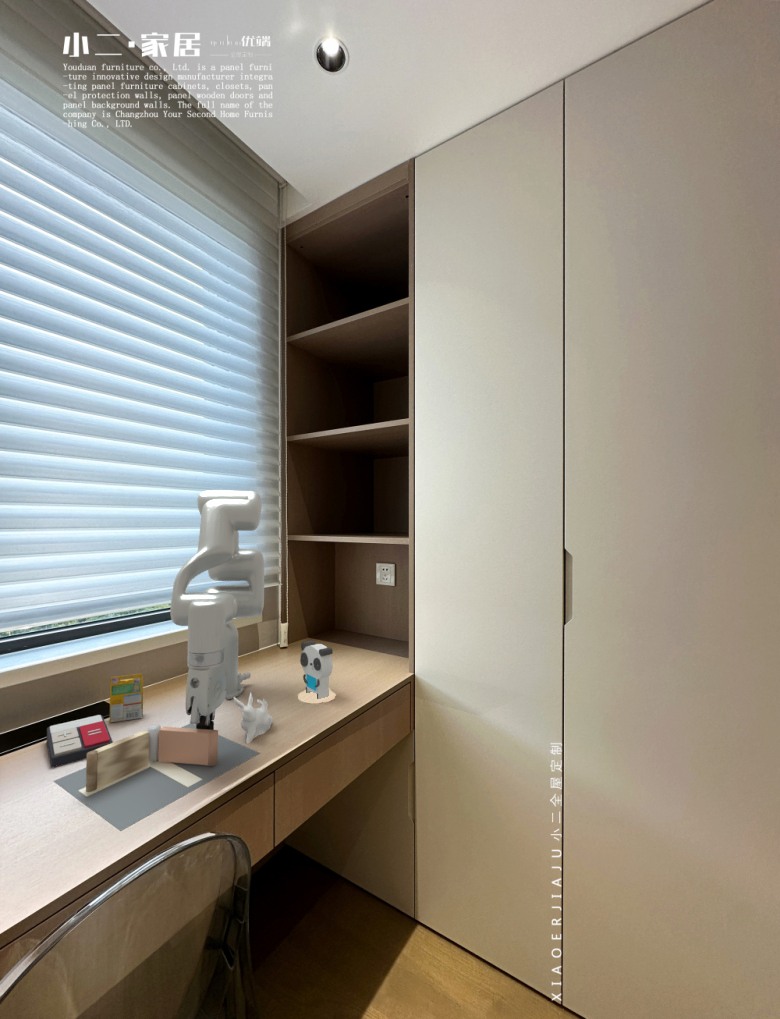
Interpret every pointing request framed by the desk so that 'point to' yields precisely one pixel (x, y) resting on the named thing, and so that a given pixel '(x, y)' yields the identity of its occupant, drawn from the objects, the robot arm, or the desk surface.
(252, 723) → the rabbit figurine
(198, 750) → the fence swing panel
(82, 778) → the mat
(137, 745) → the panel
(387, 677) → the desk surface
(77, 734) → the calculator
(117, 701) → the crayon box
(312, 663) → the panda figurine
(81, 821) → the desk surface
